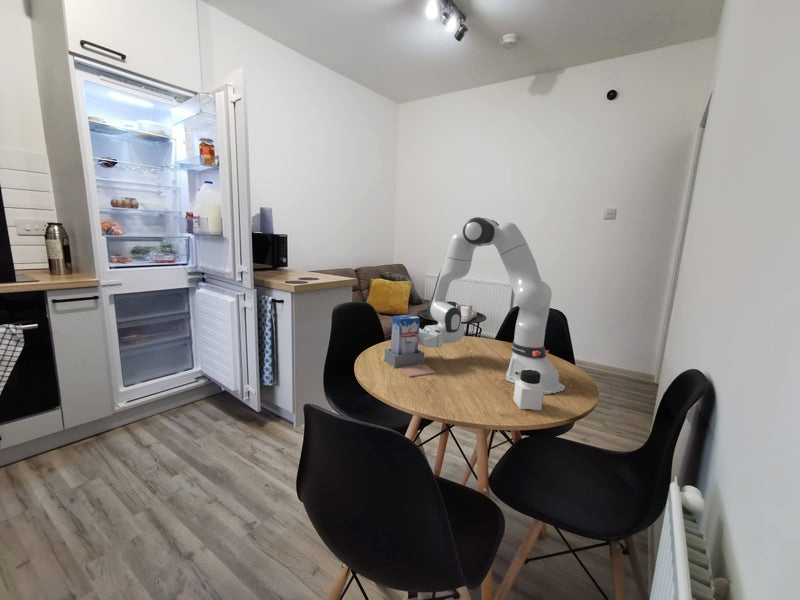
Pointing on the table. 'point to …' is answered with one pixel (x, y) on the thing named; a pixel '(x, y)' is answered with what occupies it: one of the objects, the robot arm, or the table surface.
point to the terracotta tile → (416, 370)
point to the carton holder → (404, 359)
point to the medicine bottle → (529, 390)
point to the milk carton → (404, 334)
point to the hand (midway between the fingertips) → (403, 337)
